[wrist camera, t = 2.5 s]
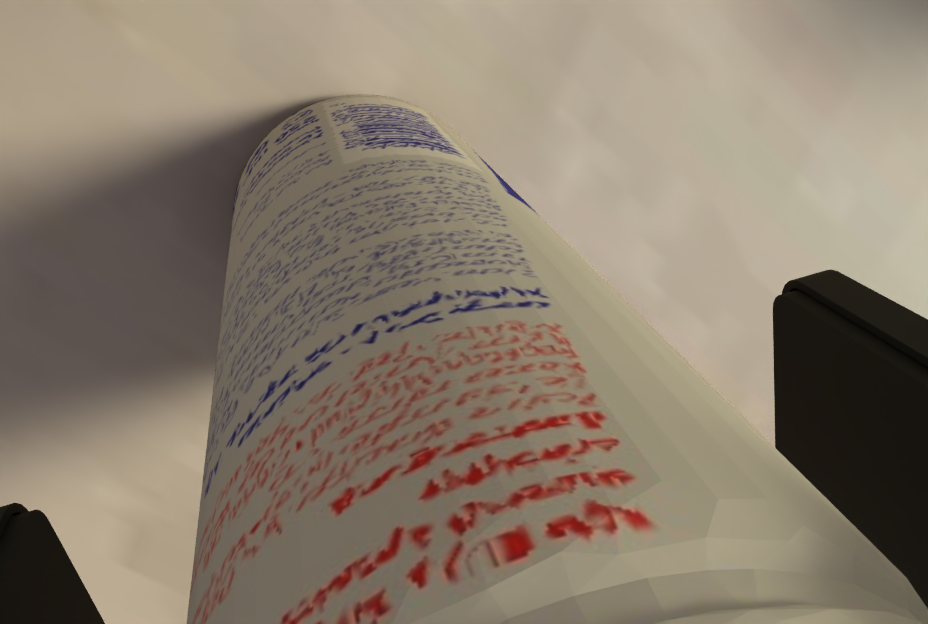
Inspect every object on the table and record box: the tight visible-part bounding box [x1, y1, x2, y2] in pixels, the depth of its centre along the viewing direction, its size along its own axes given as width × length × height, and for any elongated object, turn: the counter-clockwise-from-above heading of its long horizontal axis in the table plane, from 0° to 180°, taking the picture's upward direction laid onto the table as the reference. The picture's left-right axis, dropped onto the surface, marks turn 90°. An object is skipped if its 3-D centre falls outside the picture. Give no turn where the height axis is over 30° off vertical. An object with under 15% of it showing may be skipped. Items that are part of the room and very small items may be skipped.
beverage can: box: [187, 95, 928, 624], centre depth 11 cm, size 6×6×15 cm
